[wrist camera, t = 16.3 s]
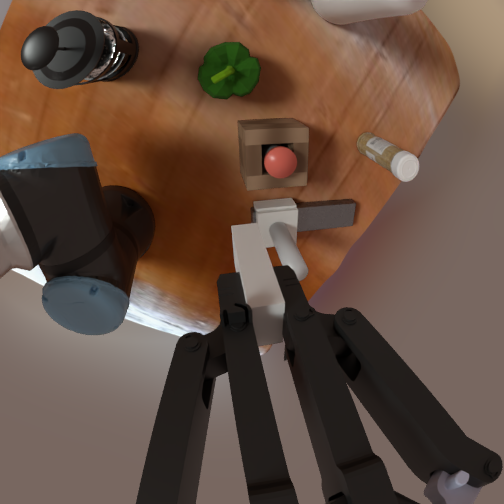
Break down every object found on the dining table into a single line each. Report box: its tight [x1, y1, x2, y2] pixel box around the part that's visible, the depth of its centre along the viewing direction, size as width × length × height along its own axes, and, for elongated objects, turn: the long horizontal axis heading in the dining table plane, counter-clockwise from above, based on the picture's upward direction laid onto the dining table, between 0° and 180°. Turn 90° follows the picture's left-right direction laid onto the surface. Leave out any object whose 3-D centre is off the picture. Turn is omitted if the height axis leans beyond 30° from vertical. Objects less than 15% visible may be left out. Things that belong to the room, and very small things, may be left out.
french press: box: [21, 10, 139, 89], centre depth 23 cm, size 12×9×23 cm
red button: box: [261, 144, 297, 178], centre depth 42 cm, size 4×4×8 cm
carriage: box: [253, 198, 308, 281], centre depth 48 cm, size 7×8×16 cm
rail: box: [251, 199, 356, 232], centre depth 55 cm, size 20×5×2 cm, turn 92°
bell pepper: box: [198, 42, 261, 99], centre depth 34 cm, size 8×8×10 cm
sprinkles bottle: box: [357, 132, 419, 182], centre depth 43 cm, size 5×5×14 cm
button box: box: [238, 118, 309, 191], centre depth 43 cm, size 9×9×8 cm
